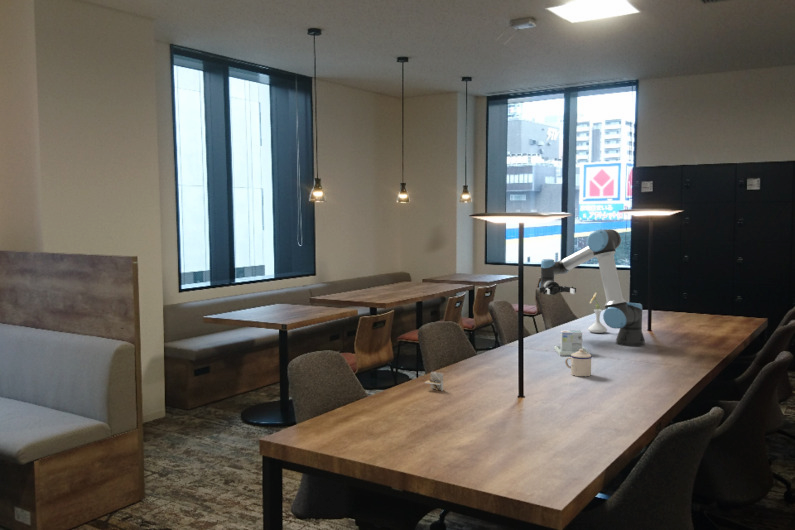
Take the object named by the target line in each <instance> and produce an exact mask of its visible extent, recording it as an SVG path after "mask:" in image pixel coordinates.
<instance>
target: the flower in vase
mask: <svg viewBox="0 0 795 530" xmlns="http://www.w3.org/2000/svg"><path fill="white" fill-rule="evenodd" d="M597 294H598V292H597V291H596V292H594V294H593V297H592V298H591V299H590V301H589V304H592V303H593V302H594V300H595V302H596V304H595V309H593V312H594V313H595V314H594V315H595V321H594V322H593V324H591V325H590V326H589V327H588V328H587V331H588V332H590V333H593V334H594V333H595V334H596V333H597V334H603V333H606V332H607V331H608V328H607V327H606V326H605V325H604V324H603V323H602V322H601V321H600V318H601V312H603V310H602V309H599V308H601V307H600V305H599V303H598V301H597V298H596V296H597Z"/></svg>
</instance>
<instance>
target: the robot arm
mask: <svg viewBox="0 0 795 530" xmlns="http://www.w3.org/2000/svg"><path fill="white" fill-rule="evenodd" d="M586 242H587V246H584V247H582V248H581V249H579V250H578V251H575V252H574V253H572V254H570V255H568V256H566V257H564V258H562V259H561V260H559V261H555V260H554V259H552V258H546V259H541V263H540V282H539V293H540V294H541V293H542V294H543V295H546V294H547V295H551V296H555V295H557V294H558V293H570V294H571V295H575V294H576V292H577V288H576V287H574V286H571V287H570V286H561V285H560V284H559V283H558V282H555V275H565V274H567V273H568V272H570V270H572V269H574V268H576V267H578V266H580V265H582V264H584V263H586V262H588V261H590V260H592V259H594V258H596V259H597V263H598V266H599V272H600V277H601V282H602V285H603V291H604V295H605V304H604V308H605V310H604V312H603V315H602V317H603V321H604V324H606V326H608V327H609V328H611V329H615V330H616V329H619V331H618V333H617V336H616V339H615V341H616V342H615V344H618V345H619V346H627V347H631V346H632V347H640V346H641V347H642V346H645V345H646V339H645V336H644V333H643V304H641V303H640V302H639V303H636V302H628V301H627V300H626V299H624V297H623V292H622V288H621V283H620V280H619V279H620V278H619V275H618V269H617V265H616V259H615V254H616V252H617V251H616V250H617V248H619V247H620V246H621V243H622V238H621V234H620V233H619V232H618V231H617V230H615V229H596V230H593V231H592V232H590V234H589V235H588V237H587V240H586Z"/></svg>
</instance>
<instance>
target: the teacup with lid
mask: <svg viewBox="0 0 795 530" xmlns="http://www.w3.org/2000/svg"><path fill="white" fill-rule="evenodd" d="M592 358H593V357H592V354H590V353H589V354H588V353H586V352H584V350H583V349H579V351H577V352H576V353H573V354H571V356H567V357H566V358H565V360H564V363H565V366H566V367H567V368H568V369H570V373H571V376H573V375H575V376H574V377H577V376H589V377H591V376H592ZM568 360H571V363H570V365H569V364H568ZM590 375H591V376H590Z"/></svg>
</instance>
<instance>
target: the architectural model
mask: <svg viewBox="0 0 795 530" xmlns="http://www.w3.org/2000/svg"><path fill="white" fill-rule="evenodd" d="M424 384H430V388H431V390H432V389H433V390H436V391H439V390H440V391H441V392H443V391H444V373H443V372H436V371H430V378H429V380H425V381H424Z"/></svg>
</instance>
